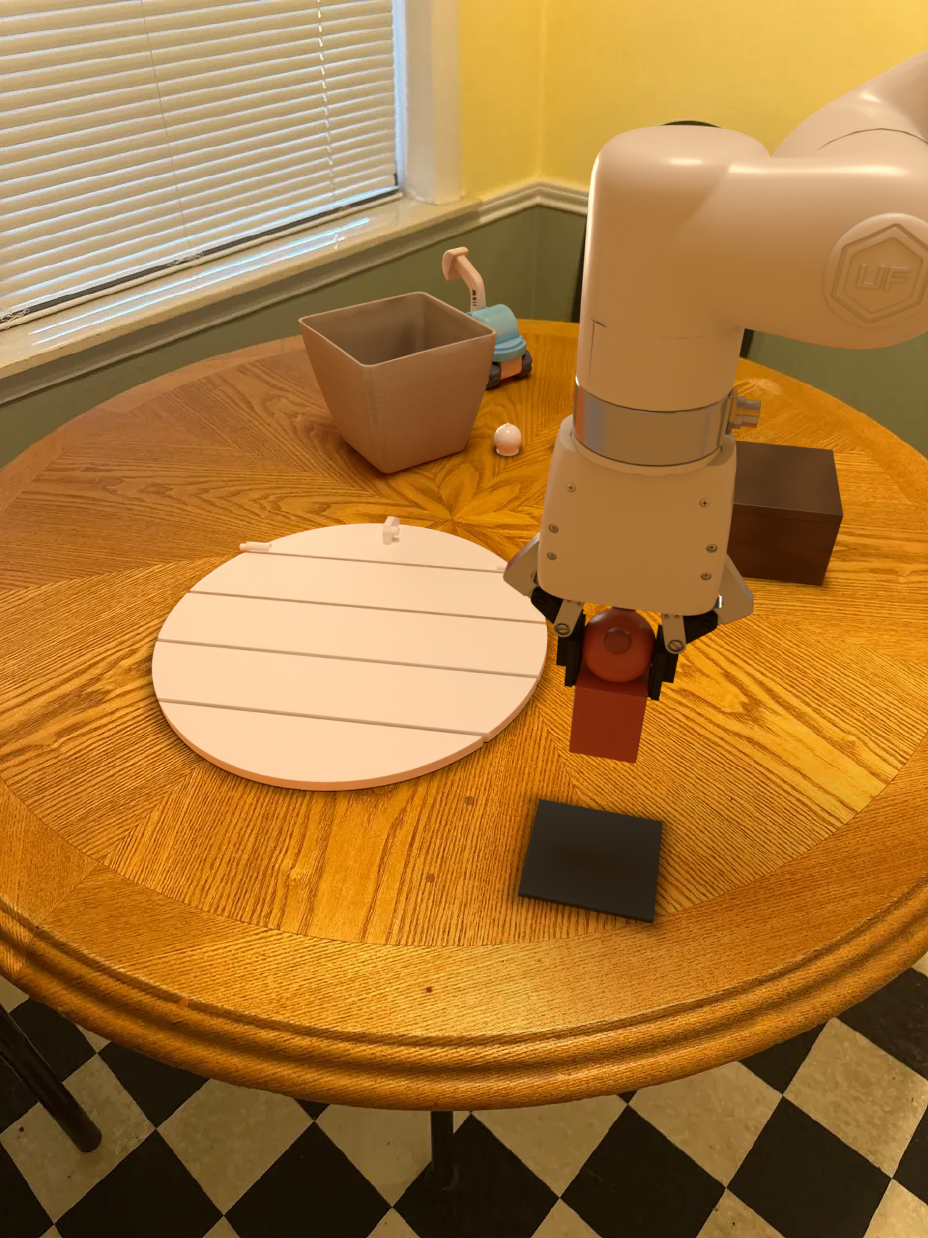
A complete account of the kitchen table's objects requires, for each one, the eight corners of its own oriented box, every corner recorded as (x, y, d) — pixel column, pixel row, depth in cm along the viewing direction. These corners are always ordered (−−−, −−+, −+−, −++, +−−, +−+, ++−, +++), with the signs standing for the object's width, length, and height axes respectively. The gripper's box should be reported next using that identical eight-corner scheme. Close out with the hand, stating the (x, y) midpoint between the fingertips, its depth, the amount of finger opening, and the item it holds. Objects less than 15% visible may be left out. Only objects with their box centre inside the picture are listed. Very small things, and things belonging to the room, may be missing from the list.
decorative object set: (643, 452, 116) (646, 421, 113) (494, 457, 116) (495, 427, 113) (636, 436, 119) (640, 406, 117) (492, 441, 119) (492, 411, 116)
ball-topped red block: (643, 713, 59) (664, 592, 52) (637, 768, 56) (658, 645, 49) (577, 702, 60) (589, 581, 53) (566, 755, 56) (577, 633, 50)
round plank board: (242, 516, 106) (237, 492, 103) (561, 540, 100) (563, 515, 98) (79, 763, 75) (66, 736, 73) (524, 816, 70) (525, 789, 68)
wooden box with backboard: (814, 516, 103) (839, 425, 95) (821, 586, 93) (851, 489, 85) (701, 504, 106) (717, 414, 98) (696, 570, 95) (714, 475, 88)
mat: (662, 824, 69) (662, 821, 69) (653, 923, 62) (653, 920, 62) (539, 801, 71) (539, 798, 71) (517, 895, 64) (517, 892, 64)
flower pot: (427, 402, 129) (421, 287, 118) (500, 452, 117) (501, 330, 106) (312, 436, 121) (294, 318, 110) (376, 495, 109) (364, 367, 98)
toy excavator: (475, 345, 145) (474, 239, 134) (536, 379, 134) (540, 265, 124) (433, 358, 142) (428, 249, 131) (492, 393, 131) (492, 278, 120)
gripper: (821, 396, 44) (751, 660, 56) (498, 368, 47) (495, 622, 59) (833, 468, 38) (751, 745, 50) (466, 430, 42) (469, 698, 53)
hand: (613, 676), depth 54 cm, fingers closed on ball-topped red block, 4 cm apart
